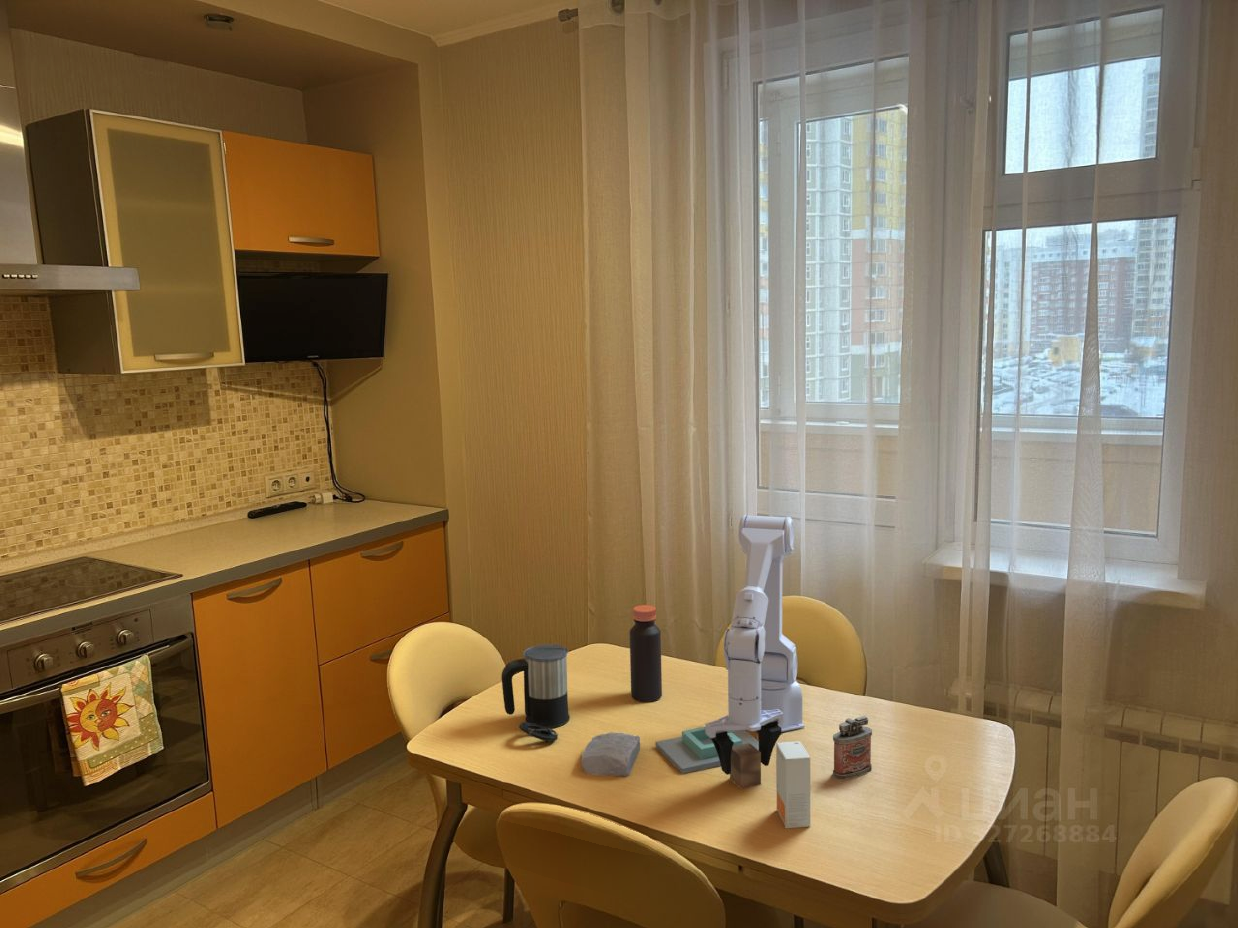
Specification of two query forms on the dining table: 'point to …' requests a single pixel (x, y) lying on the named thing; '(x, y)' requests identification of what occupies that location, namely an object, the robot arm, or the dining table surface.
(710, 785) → the dining table surface
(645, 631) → the bottle
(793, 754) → the skincare box
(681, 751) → the assembly cradle
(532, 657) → the milk frother
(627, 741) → the stone block
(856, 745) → the lighter
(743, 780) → the tall brown post
